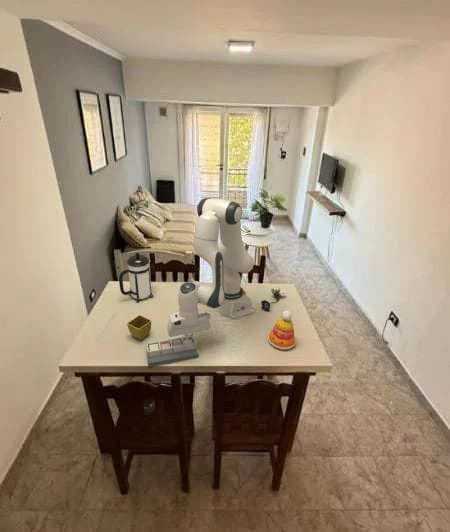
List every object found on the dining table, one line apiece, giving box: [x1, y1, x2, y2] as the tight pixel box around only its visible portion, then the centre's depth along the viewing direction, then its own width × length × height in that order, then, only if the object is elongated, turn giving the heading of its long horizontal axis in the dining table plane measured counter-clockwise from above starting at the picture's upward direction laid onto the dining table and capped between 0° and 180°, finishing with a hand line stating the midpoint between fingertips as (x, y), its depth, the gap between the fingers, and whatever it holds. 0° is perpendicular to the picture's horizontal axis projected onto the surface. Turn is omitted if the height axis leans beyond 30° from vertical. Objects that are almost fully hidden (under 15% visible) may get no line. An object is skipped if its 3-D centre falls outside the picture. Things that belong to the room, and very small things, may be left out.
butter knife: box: [95, 325, 109, 341], centre depth 163 cm, size 1×24×3 cm
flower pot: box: [126, 314, 152, 341], centre depth 155 cm, size 9×9×9 cm
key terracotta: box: [161, 343, 170, 349], centre depth 146 cm, size 4×4×4 cm
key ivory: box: [184, 339, 193, 344], centre depth 149 cm, size 4×4×4 cm
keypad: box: [145, 335, 199, 368], centre depth 146 cm, size 23×14×6 cm, turn 108°
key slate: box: [172, 340, 182, 346], centre depth 147 cm, size 4×4×4 cm
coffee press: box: [118, 252, 154, 304], centre depth 182 cm, size 17×16×30 cm
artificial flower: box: [260, 287, 286, 312], centre depth 189 cm, size 9×22×10 cm, turn 140°
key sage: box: [149, 344, 158, 351], centre depth 144 cm, size 4×4×4 cm
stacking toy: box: [267, 310, 297, 351], centre depth 153 cm, size 14×14×20 cm
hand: (189, 338), depth 147 cm, fingers closed
